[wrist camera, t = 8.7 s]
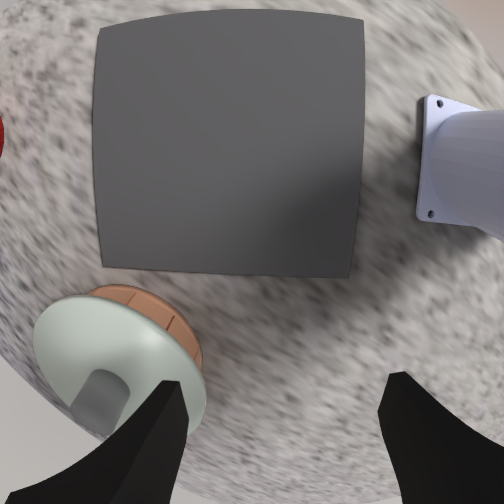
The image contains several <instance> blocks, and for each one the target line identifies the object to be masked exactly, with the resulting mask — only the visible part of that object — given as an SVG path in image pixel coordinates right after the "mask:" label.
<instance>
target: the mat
mask: <svg viewBox="0 0 504 504" xmlns="http://www.w3.org/2000/svg"><path fill="white" fill-rule="evenodd" d="M364 120H365V42H364V21H363V20H361V19H355V18H350V17H344V16H337V15H330V14H323V13H314V12H304V11H291V10H273V9H228V10H209V11H197V12H187V13H178V14H170V15H163V16H157V17H151V18H145V19H140V20H135V21H130V22H125V23H121V24H116V25H112V26H108V27H104V28H100V31H99V39H98V47H97V57H96V68H95V81H94V101H93V164H94V184H95V198H96V210H97V220H98V229H99V238H100V246H101V253H102V260H103V266H105V267H119V268H134V269H149V270H165V271H183V272H201V273H220V274H241V275H263V276H288V277H316V278H349V273H350V267H351V260H352V253H353V246H354V239H355V231H356V223H357V214H358V205H359V195H360V184H361V172H362V158H363V142H364Z"/></svg>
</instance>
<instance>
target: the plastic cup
mask: <svg viewBox="0 0 504 504" xmlns="http://www.w3.org/2000/svg"><path fill="white" fill-rule="evenodd" d="M3 143H4V127H3V123H2V119H1V116H0V157H1V154H2V148H3Z"/></svg>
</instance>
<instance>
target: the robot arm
mask: <svg viewBox="0 0 504 504" xmlns="http://www.w3.org/2000/svg"><path fill="white" fill-rule="evenodd" d="M437 100H438V101H439V102H440V107H438V106H437ZM430 210H431V211H432V214H431V216H429V217H428V212H429V211H430ZM416 216H417V218H418V219H419V220H421V221H426V222H436V223H446V224H456V225H465V226H473V227H477V228H478V229H480V230H482V231H484V232H486V233H488V234H489V235H491V236H493V237H495V238H497V239H498V240H500V241H502V242H504V110H492V111H484V110H481V109H478V108H475V107H472V106H470V105H467V104H464V103H460V102H457V101H454V100H451V99H448V98H444V97H441V96H437V95H434V94H429V95H427V96H426V97H425V98H424V127H423V147H422V160H421V172H420V181H419V190H418V199H417V206H416ZM377 412H378V417H379V422H380V427H381V431H382V436H383V439H384V442H385V445H386V448H387V451H388V454H389V456H390V459H391V462H392V465H393V468H394V471H395V474H396V477H397V480H398V484H399V487H400V491H401V497H402V503H403V504H504V447H503V446H501V445H499V444H497V443H495V442H493V441H491V440H489V439H488V438H486V437H484V436H483V435H481V434H480V433H478V432H476V431H475V430H473V429H472V428H470V427H469V426H468V425H466V424H465V423H464V422H462V421H461V420H460V419H458V418H457V417H456V416H454V415H453V414H452V413H451V412H450V411H448V410H447V409H446V408H445V407H444V406H443V405H441V404H440V403H439V402H438V401H437V400H436V399H435V398H434V397H432V396H431V395H430V394H429V393H428V392H427V391H426V390H425V389H424V388H423V387H422V386H420V385H419V384H418V383H417V382H416V381H415V380H414V379H413V378H412V377H411V376H410V375H409V374H407V373H406V372H405V371H404V372H397V373H391V374H389V377H388V381H387V384H386V387H385V390H384V394H383V397H382V400H381V403H380V406H379V409H378V411H377ZM188 425H189V416H188V412H187V408H186V404H185V401H184V397H183V393H182V389H181V385H180V381H170V380H162V381H161V382H160V383H159V384H158V385H157V387H156V388H155V389H154V390H153V391H152V393H151V394H150V395H149V396H148V397H147V398H146V400H145V401H144V402H143V403H142V404H141V405H140V406H139V407H138V409H137V410H136V411H135V412H134V413H133V414H132V415H131V416H130V417H129V418H128V419H127V420H126V421H125V422H124V423H123V424H122V425H121V426H120V427H119V428H118V429H117V430H116V431H115V432H114V433H113V434H112V435H111V436H110V437H109V438H108V439H107V440H105V441H104V442H103V443H102V444H101V445H100V446H99V447H97V448H96V449H95V450H94V451H92V452H91V453H89V454H88V455H87V456H85V457H84V458H82V459H81V460H79V461H78V462H77V463H75V464H73V465H72V466H70V467H69V468H67V469H65V470H64V471H62V472H60V473H58V474H56V475H54V476H52V477H50V478H48V479H46V480H44V481H42V482H39V483H37V484H35V485H32V486H29V487H26V488H23V489H20V490H17V491H14V492H11V493H10V494H9V496H8V498H7V500H6V502H5V504H169V503H170V499H171V494H172V490H173V487H174V483H175V480H176V476H177V473H178V469H179V466H180V462H181V459H182V455H183V451H184V448H185V444H186V438H187V432H188Z"/></svg>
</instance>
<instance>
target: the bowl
mask: <svg viewBox="0 0 504 504" xmlns="http://www.w3.org/2000/svg"><path fill="white" fill-rule="evenodd" d="M86 295H94V296H101V297H104V298H108V299H112V300H115V301H117V302H120V303H122V304H125V305H127V306H129V307H131V308H133V309H135V310H137V311H139V312H141V313H142V314H144V315H146V316H147V317H149V318H151V319H152V320H154V321H155V322H156V323H158V324H159V325H160V326H162V327H163V328H164V329H166V330H167V331H168V332H169V333H170V334H171V335H172V336H173V337H175V338H176V339H177V340H178V341H179V343H180V344H181V345H182V346H183V347H184V348H185V349H186V350H187V352H188V353H189V354H190V356H191V357H192V358H193V359H194V361H195V363H196V365H197V366H198V368H199V370H200V372H201V367H202V351H201V346H200V343H199V340H198V338H197V336H196V334H195V332H194V330H193V329H192V327H191V326H190V324H189V323H188V322H187V320H186V319H185V318H184V317H183V316H182V315H181V314H180V313H179V312H178V311H177V310H176V309H175V308H174V307H172V306H171V305H170V304H169V303H167V302H166V301H164V300H163V299H161V298H160V297H158V296H156V295H154V294H152V293H151V292H148V291H146V290H143V289H141V288H137V287H134V286H129V285H123V284H111V285H104V286H101V287H98V288H96V289H94V290H92V291H90V292H89V293H88V294H86Z"/></svg>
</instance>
